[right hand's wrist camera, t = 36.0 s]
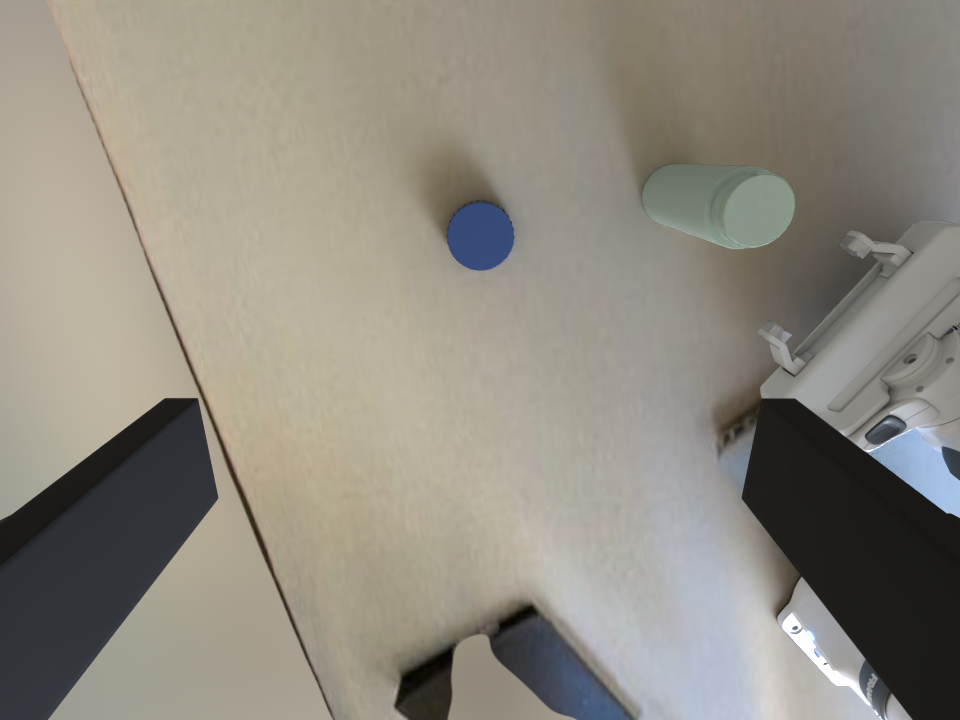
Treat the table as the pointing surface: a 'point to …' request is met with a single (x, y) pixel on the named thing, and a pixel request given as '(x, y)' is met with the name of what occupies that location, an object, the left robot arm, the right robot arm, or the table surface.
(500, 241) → the lid
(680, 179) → the pale green bottle
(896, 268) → the left robot arm
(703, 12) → the table surface
